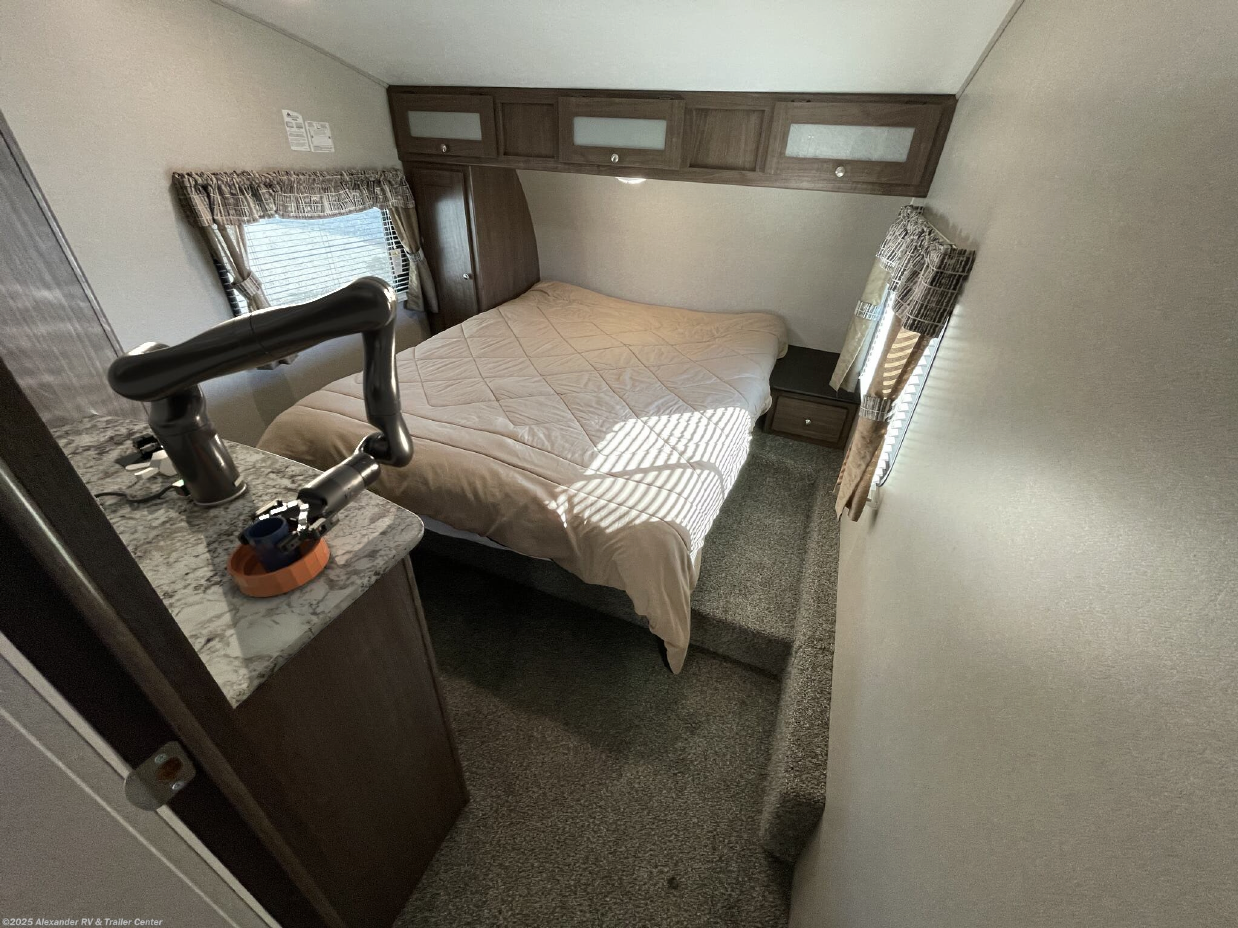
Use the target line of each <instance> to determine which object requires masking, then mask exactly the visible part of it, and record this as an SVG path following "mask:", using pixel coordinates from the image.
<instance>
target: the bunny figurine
mask: <svg viewBox="0 0 1238 928" xmlns="http://www.w3.org/2000/svg"><path fill="white" fill-rule="evenodd" d="M140 470H141V471H140ZM137 471H139V472H137ZM125 472H126V473H132V472H136V473H134V477H135V479H136V480H137V481H143V480H146V479H148V478H150V477H152V476H153V475H155V474H159V475H164V476H168V477H172V476H174V475H178V474H177V472H176V471H175V469H174V467H173V466H172V464H171V461H170V459H169V458H168V456H167V454H166V453H165V451H164V450H161V451H158V452H156V453H153V456H152V459H150V461H149V462H142V463H139V464H134V465H128V466H127V467H125Z"/></svg>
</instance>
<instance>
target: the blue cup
mask: <svg viewBox="0 0 1238 928" xmlns="http://www.w3.org/2000/svg"><path fill="white" fill-rule="evenodd" d="M246 528H247V529H246ZM246 528H245V529H246V531H245V535H244V536H245V537H246V539H247V541H248V543H249V544H250V546H251V548H252V550H253V552H254V553H255V555H256V557H257V559H258V560H259V562H260V564H261V566H262V568H263V569H264V571H265V573H266V574H267V573H272V572H275V571H278V570H280V569H283V568H285V567H288V566H290V565H292V564H293V563H295V562H297V561H298V560H300V559H302V558H303V557H304V555H303V553H302V551H301V549H300V547H299V545H298V546H297V547H295V548H294V549H293V550H291V551H290V552H288V553H287V554H281V553H280V552H279V550H278V548H277V544H278V543H279V542H280V541H282V540H283V539H284V538H285V537H287V536H288V535H289V534H291V533H292V531H291V529H290V527H289V525H288V523H287V521H286V519H285V518H284V517H281V515H278V516H273V517H268V518H264V519H261V520H259V521H257V522H255V523H253V522H252V524H250V525H249V526H247V527H246Z"/></svg>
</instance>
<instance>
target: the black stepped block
mask: <svg viewBox="0 0 1238 928" xmlns="http://www.w3.org/2000/svg"><path fill="white" fill-rule="evenodd" d="M130 441H131V445H132V446H131V447H132V448H134V450H135V451H134V452H131V453H129V454H126V455H123V456H121V457H118V458H115V459H114V462H117V463H118V464H120V465H122V466H124V467H125V468H126V467H127V466H128V465H134V464H141V463H145V462H147V461H149V460H150V461H151V459H152V456H153V453H156V452H158V451H161V450H164V449H163V448H162V446H161V445H160V443H159V441H158V440H157V438H156V436H155V435H154V434H152V433H150V432H146V433H143V434H141V435H137V436H135V437H132V438H130ZM146 446H147V447H146Z"/></svg>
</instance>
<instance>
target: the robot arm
mask: <svg viewBox="0 0 1238 928" xmlns="http://www.w3.org/2000/svg"><path fill="white" fill-rule="evenodd" d="M398 308H399V298H398V296H397V292H396V291H395V289H394V288H393V286H392V285H391V284H390V283H389V282H388V281H386V280H385V279H383V278H381V277H379V276H375V275H364V276H361V277H358V278H356V279H354V280H352V281H350V282H348V283H347V284H344V285H343V286H342V287H340V288H337V289H336V290H334V291H330V292H329V293H326V294H324V295H322V296H319V297H316V298H314V299H312V300H309V301H305V302H302V303H294V304H285V305H278V306H272V307H268V308H263V309H259V310H255V311H252V312H249V313H245V314H243V315H239V316H236V317H234V318H231V319H228V320H226V321H223V322H221V323H218V324H216V325H215V326H213V327H210V328H207V329H206V330H203V331H202V332H200V333H198V334H197V335H195V336H193V337H191V338H189V339H186V340H185V341H183V342H180V343H177V344H174V345H172V346H170V345H168V344H165V343H161V342H153V341H150V342H144V343H142V344H140V345H137V346H135V347H133V348H132V349H130V350H128V351H126V352H124V353H122V354H120V355H119V356H118V357H116V358H114V360H113V361H112V362H111V364H110V365H109V367H108V369H107V373H106V379H107V382H108V385H109V388H110V389H112V391H113V392H115V393H116V394H117V395H119V396H121V397H122V398H124V399H127V400H130V401H133V402H138V403H139V402H140V403H150V409H149V414H148V416H147V425H148V426H149V429H150V430H151V431H152V433H153V436H154V437H156V438H157V440H158V441H159V443H160V445H161V446H162V448H163V449H164V451H165V453H166V454H167V456H168V458H169V459H170V461H171V464H172V466H173V467H174V469H175V471H176V472H177V474H176V475H177V476H178V478H179V480H177V481H176V482H174V483H173V484H170V485H168V486H165V487H164V488H162V489H160V491H159V492H157V493H155V494H152V495H150V496H147V497H142V498H133V496H132V495H131V494H130V493H128V492H121V491H105V492H104V491H102V492H98V493H95V494H93V495H94V496H95V497H96V498H97V499H99V498H101V497H108V496H109V497H111V496H112V497H122V498H123V497H124V498H126V500H127V502H128V503H131V504H139V503H145V502H149V501H153V500H156V499H157V498H160V497H162V496H163V495H165V494H166V493H167V492H169V491H171V490H172V489H173V490H174V491H175V493H176V495H177V496H179V497H184V498H187V497H189V496H190V497H191V499H192V500H193V502H194V504H195V505H196V506H197V507H200V508H213V507H214V508H215V507H217V506H221V505H225V504H228V503H230V502H232V501H234V500H236V499H238V498H240V497H241V496H242V495H243V494H244V493H245V492H246V491H247V489H248V485H247V484H246V482H245V480H244V479H245V477H244V474H243V473H240V470H239V469H238V468H237V465H236V464H235V462H234V459H233V457H232V456H231V454H230V452H229V450H228V448H227V447H226V445H225V443H224V441H223V439H222V437H221V435H220V434H219V432H218V430H217V429H218V428H216V426H215V424H214V422H213V420H212V418H211V416H210V414H209V411H208V402H207V398H206V396H205V393H204V392H203V389H202V387H201V385H200V384H201V383H203V382H207V381H210V380H214V379H218V378H221V377H226V376H229V375H233V374H237V373H241V372H245V371H248V370H251V369H254V368H258V367H263V366H266V365H269V364H272V363H275V362H277V361H281V360H284V359H287V358H289V357H292V356H294V355H295V356H296V355H298V354H300V353H303V352H305V351H307V350H309V349H311V348H314V347H316V346H318V345H321V344H323V343H326V342H327V341H332V340H335V339H339V338H344V337H347V336H353V335H357V334H358V335H359V334H360V335H361V341H362V350H363V351H362V352H363V357H362V358H363V361H362V363H363V365H362V395H363V403H364V411H365V417H366V421H367V423H368V424H369V425H370V426H371V427H373V428H376V429H377V430H379V431H373V432H371V433H369V434H367V435H365V437H363V439H362V440H361V441H360V442H359V444H358V445H357V447H356V448H355V449H354V451H353V452H352V453H351V455H350V456H348V457H347V458H345V459H343V461H341V462H340V463H338V464H337V465H335V466H333V467H331V468H328V470H325V471H324V472H322V473H321V474H320V475H318V476H316V478H314V479H313V480H311V481H310V482H308V483H307V484H306V485H304V486H303V487H301V488H300V489H299V490H298V492H297V494H296V495H297V496H296V498H295V499H294V500H292V501H290V502H289V501H288V502H287V503H286V502H283V500H282V498H276V499H274V500H271V502H269V503H267V504H266V505H263V507H261V508H260V509H257V510H256V511H255V512H253V513H251V514H250V515H249V518H250V520H251V522H252V524H253V523H255V522H257V521H259V520H261V519H264V518H268V517H273V516H280V517H284V518H285V519H286V521H287V523H288V525H289V527H294V528H297V530H298V532H297V531H293V532H292V533H291V534H289V535H288V536H287V537H285V538H284V539H283V540H282V541H280V542H279V543H278V544H277V548H278V550H279V552H280V553H281V554H287V553H288V552H290V551H291V550H293V549H294V548H295V547H297V546H298V545H299V544H300V543H302V542H303V541H308V540H309V539H313V540H314V541H318V540H320V539H321V538H322V537H325V535H327V534H328V533H329V532H330V531H331V530H332V529H333V528H335V527H336V526H337V525H338V524H339V523H340V522H341V519H340V517H339V514H338V513H340V512H341V511H342V510H344V509H345V508H346V507H347V506H349V504H351V503H352V502H354V500H356V499H357V498H358V497H359V495H361V493H363V492H364V491H365V490H366V489H367V488H369V487H370V486H371V485H372V484H374V483H375V482H376V481H377V480H378V479H379V478H380V476H381V473H382V467H381V465H383V466H388V467H391V468H396V469H402V468H405V467H407V466H408V465H410V463H411V462H412V461H413V458H414V454H415V446H414V441H413V438H412V435H411V432H410V430H409V428H408V425H407V423H406V420H405V419H404V416H403V410H402V409H403V408H402V399H401V391H400V390H401V389H400V381H399V373H398V363H397V345H396V339H397V338H396V337H397V333H396V332H397V318H398V317H397V316H398ZM247 528H248V527H246V528H245V529H243V530H241V532H239V533H238V534H237V536H236V537H237V540H238V542H239V544H242V545H247V544H249V543H248V541H247V539H246V537H245V536H244V535H245V531H246V529H247ZM319 528H320V531H319V532H318V529H319Z"/></svg>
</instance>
